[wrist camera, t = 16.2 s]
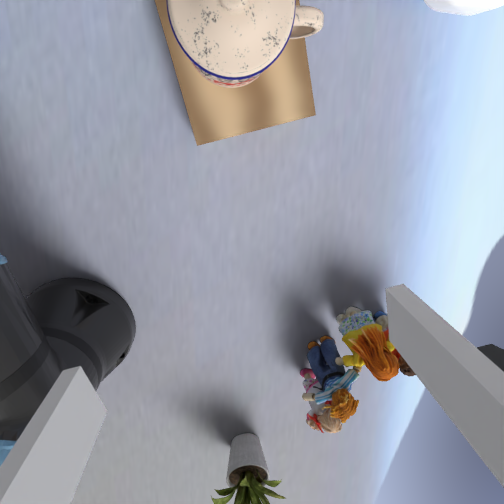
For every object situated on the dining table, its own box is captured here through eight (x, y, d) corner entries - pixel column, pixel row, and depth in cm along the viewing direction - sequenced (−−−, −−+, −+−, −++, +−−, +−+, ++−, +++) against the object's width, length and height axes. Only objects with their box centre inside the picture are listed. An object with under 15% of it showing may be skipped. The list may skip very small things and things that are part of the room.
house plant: (197, 471, 59) (188, 591, 43) (200, 417, 53) (191, 532, 38) (272, 469, 60) (288, 584, 45) (281, 417, 55) (304, 527, 40)
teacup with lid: (185, 90, 31) (165, 72, 20) (177, -24, 28) (147, -119, 17) (303, 91, 32) (343, 74, 21) (309, -20, 29) (361, -106, 18)
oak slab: (199, 143, 37) (197, 145, 33) (155, -11, 31) (146, -29, 27) (306, 116, 37) (315, 115, 33) (281, -45, 31) (289, -67, 27)
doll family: (301, 389, 53) (324, 468, 41) (262, 360, 50) (275, 436, 38) (401, 310, 49) (460, 372, 37) (365, 273, 46) (417, 327, 33)
